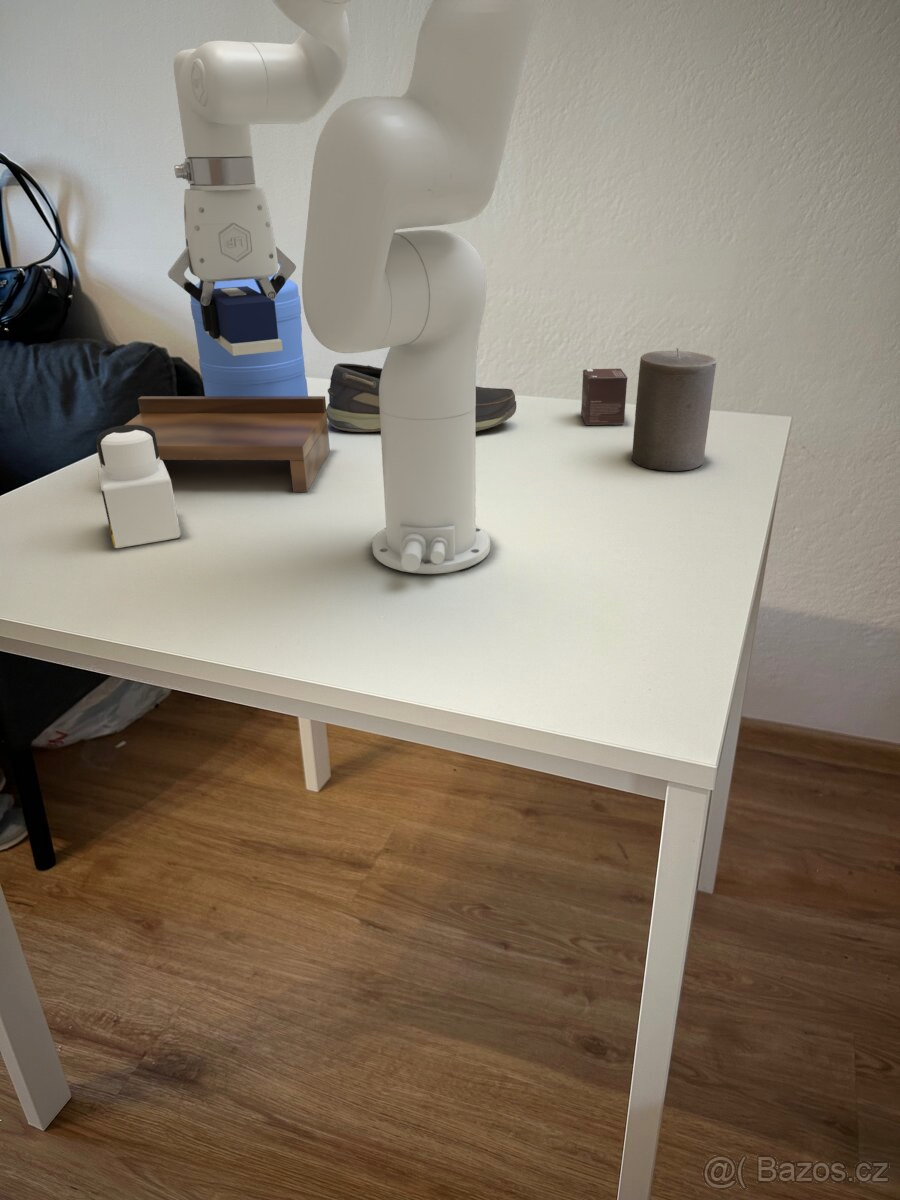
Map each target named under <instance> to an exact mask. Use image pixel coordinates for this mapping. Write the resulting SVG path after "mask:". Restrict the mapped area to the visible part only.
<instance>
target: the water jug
mask: <svg viewBox="0 0 900 1200" xmlns="http://www.w3.org/2000/svg"><path fill="white" fill-rule="evenodd" d="M276 274H277V272H276V273H275V274H274V275H276ZM274 275H273V276H274ZM273 276H270V277H268V278H269V280H271V279H272V278H273ZM194 285H195V286H196V287H198V286H199V282H197V283H195V284H194ZM244 286H248V287H249V288H251V289H253V290H255V291H257V292H259V293H261V292H260V290H259V288H258V286H257V284H256V282H255V280H254V279H246V280H233V281H218V282H215V286H214V289H218V288H231V287H244ZM299 293H300V292H299V286H298V284H297V283H296V281H294V280H291V279H290V278H289V279H287V280H286V282H285V284H284V286H283V287H282V288H281V290H280V291H279V292H278V293H277V295H276V298H275V299H274V300H273V301H275V310H276V320H277V329H278V339H280V340H281V341H282V349H283V350H282V351H274V352H265V353H255V354H246V355H237V356H233V355H232V354H231V353H229V352H228V351H227V350H226V349H225V348H224V347H222V346H221V345H220V344H219V343H218V342H216V341H215V340H214V339H213V338H212V337H211V336H209V335H208V334H207V333H206V332H205V330H204V327H203V320H202V313H201V306H200V302H198V301H197V300H196V299H195V298H194V297H192V296H191V295H190V294H189V296H190V310H191V316H192V320H193V323H194V330H195V336H196V343H197V344H196V345H197V351H198V355H199V356H198V357H199V358H198V362H199V364H198V365H199V370H200V372H199V373H200V374H201V376H200V377H201V378H202V384H203V390H204V391H203V392H204V396H309V393H308V392H309V391H308V383H307V382H308V380H307V378H306V373H305V372H306V369H305V358H304V357H305V356H304V349H303V340H302V339H303V337H302V336H303V334H302V333H303V327H302V317H301V316H302V315H301V314H302V306H301V304H302V303H301V298H300V297H301V296H300V295H299Z"/></svg>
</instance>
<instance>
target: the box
mask: <svg viewBox="0 0 900 1200" xmlns="http://www.w3.org/2000/svg"><path fill="white" fill-rule="evenodd" d="M627 385H628V376H627V375H626V374H625V372H624V371H623V370H622V368H586V369H583V370H582V385H581V386H582V387H581V409H580V416H581V417H582V419H583V422H584V424H585V425H587V426H599V425H600V426H601V425H603V426H604V425H606V426H607V425H616V426H617V425H624V424H625V416H626V415H625V413H626V400H627V387H628V386H627Z"/></svg>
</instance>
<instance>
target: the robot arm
mask: <svg viewBox="0 0 900 1200" xmlns="http://www.w3.org/2000/svg"><path fill="white" fill-rule="evenodd" d="M271 1H272V3H273V4H274V5H275V7H276V8H277V9H278V10H279V11H280V13H282V14H283V15H284V16H285V17H286V18H287V19H288V20H290V21H291V22H292V23H294V24H295V25H297V26H298V27H299V28H301V29H302V31H301V33H300V35H299V36H298V37H297V39H296V40H295V41H294V42H293V43H291V44H289V43H279V42H278V43H277V42H261V41H260V42H259V41H257V42H256V41H237V40H211V41H207V42H204V43H202V44H201V45H200V46H198V47H197V48H187V49H182V50H181V51H178V52H177V53H176V54H175V56H174V59H173V72H174V73H173V74H174V81H175V89H176V97H177V103H178V111H179V117H180V124H181V125H180V127H181V132H182V138H183V139H182V140H183V146H184V153H185V158H184V161H183V163H180V164H175V165H173V167H174V176H175V179H183V180H185V181H187V184H189V188H185V189H184V198H183V219H184V220H183V221H184V238H185V248H184V250H183V251H182V252H181V254H179V256H178V258H177V259H176V260H175V262H174V263H173V265H172V266H171V267H170V269H169V270H168V271H167V276H168V278H169V279H171V281H172V282H174V283H175V284H177V285H178V286H179V287H180V288H182V289H183V291H185V292H186V293H188V294H189V296H190V295H191V296H192V297H194V298H195V299H196V300H197V301H198V302H200V306H201V313H202V320H203V327H204V330H205V331H206V332H207V331H209V335H210V336H211V337H212V338H213V339H218V338H220V334H219V326H218V319H217V311H216V306H215V305H213V302H212V299H211V298H212V294H213V290H214V286H215V282H218V281H233V280H246V279H254V280H255V282H256V284H257V286H258V288H259V290H260V292H261V293H260V294H262V295H264V296H266V297H268V298H270V299H271V300H274V299H275V298H276V295H277V293H278V292H279V291H280V290H281V288H282V287H283V286H284V284H285V282H286V280H287V279H289V280H290V277H291V276H292V275H293V274H294V272H295V271H296V269H297V265H296V264H295V263H294V262H293V261H292V260H291V258H289V257H288V256H287V255H286V254H285V253H284V252H283V251H281V249H280V248H279V247H277V245H276V239H275V234H274V228H273V223H272V217H271V213H270V208H269V204H268V200H267V196H266V192H265V189H264V187H260V186H257V184H256V173H255V165H254V157H253V155H254V154H253V146H252V137H251V127H250V126H253V125H300V124H304V123H307V122H309V121H311V120H312V119H314V118H315V117H316V116H318V115H319V114H320V113H321V112H322V111H323V110H324V108H325V107H326V106H327V104H329V102H330V100H331V99H332V98H333V96H334V95H335V93H336V92H337V91H338V90H339V88H340V86H341V84H342V83H343V81H344V79H345V76H346V73H347V70H348V66H349V65H348V64H349V58H350V49H351V48H350V47H351V31H350V24H349V20H348V14H347V12H346V9H347V7H349V4H350V3H351V1H352V0H271ZM544 3H545V0H432V2H431V3H430V4H429V7H428V9H427V11H426V13H425V15H424V17H423V20H422V23H421V24H420V25H421V26H420V28H419V32H418V35H417V40H416V48H415V56H414V63H413V65H412V66H413V67H412V72H411V76H410V81H409V84H408V86H407V90H406V91H405V92H404V93H403V95H400V96H382V95H381V96H377V95H375V96H362V97H357V98H354V99H351V100H348V101H346V102H344V103H342V104H341V105H340V106H338V107H337V108H336V109H335V110H334V111H333V112H332V113H331V114H330V116H329V117H328V118H327V121H326V122H325V124H324V125H323V128H322V130H321V132H320V134H319V137H318V139H317V140H318V141H317V143H316V147H315V151H314V156H313V164H312V171H311V181H310V191H309V201H308V211H307V222H306V232H305V240H304V241H305V243H304V252H303V261H302V274H301V275H302V276H301V277H302V278H301V296H302V297H301V298H302V305H303V312H304V316H305V319H306V323H307V325H308V327H309V329H310V332H311V333H312V335H313V336H314V338H315V339H316V340H317V341H318V343H320V344H321V345H322V346H323V347H324V348H326V349H328V350H330V351H333V352H336V353H339V354H359V353H366V352H371V351H377V350H380V349H381V350H382V349H386V348H389V349H388V351H387V354H386V357H385V360H384V362H383V366H382V372H381V377H380V384H379V406H380V425H381V431H380V440H381V441H380V442H381V443H380V444H381V455H382V456H381V459H382V477H383V496H384V514H385V527H384V528H382V529H381V530H380V531H378V532H377V533H376V534H375V536H374V537H373V539H372V541H371V544H372V554H373V556H374V557H375V559H376V560H377V561H378V562H379V563H381V564H383V565H384V566H386V567H388V568H391V569H393V570H397V571H400V572H404V573H405V572H406V573H411V574H419V575H420V574H421V575H422V574H423V575H437V574H444V573H445V574H446V573H453V572H457V571H462V570H464V569H468V568H470V567H472V566H475V565H477V564H478V563H480V562H482V561H483V560H485V558H486V557H487V556H488V555H489V553H490V551H491V538H490V535H489V534H488V533H487V531H486V530H485V529H483V528H482V527H481V526H478V525H477V524H476V523H477V521H476V517H477V516H476V511H477V510H476V509H477V507H476V503H477V502H476V501H477V499H476V490H477V488H476V487H477V486H476V483H477V482H476V481H477V479H476V476H477V475H476V474H477V473H476V470H477V469H476V467H477V466H476V465H477V464H476V461H477V460H476V456H477V455H476V453H477V452H476V450H477V449H476V432H475V406H476V386H477V364H478V363H477V360H478V348H479V341H480V334H481V329H482V324H483V318H484V313H485V307H486V301H487V291H488V290H487V288H488V287H487V274H486V269H485V266H484V263H483V260H482V258H481V256H480V254H479V252H478V251H477V249H476V248H475V247H474V246H473V245H472V243H470V241H468V240H467V239H466V238H464V237H463V236H461V235H459V234H457V233H454V232H451V231H447V230H440V229H419V230H418V229H417V230H416V229H415V230H407V231H396V230H405V229H412V228H427V227H436V226H445V225H451V224H457V223H462V222H467V221H470V220H472V219H474V218H476V217H477V216H479V215H480V214H481V213H482V212H483V211H484V210H485V209H486V208H487V206H488V205H489V203H490V201H491V198H492V196H493V194H494V191H495V188H496V184H497V180H498V176H499V172H500V168H501V165H502V161H503V157H504V153H505V148H506V144H507V139H508V135H509V131H510V126H511V122H512V120H513V119H512V118H513V114H514V110H515V107H516V101H517V98H518V95H519V89H520V84H521V79H522V74H523V69H524V66H525V62H526V58H527V54H528V50H529V47H530V43H531V40H532V37H533V34H534V31H535V27H536V25H537V22H538V19H539V17H540V14H541V12H542V9H543V6H544ZM278 268H279V269H278ZM187 269H189V271H190V273H191V274H192V275H193V276H195V277H196V278H198V279H199V281H198V283H199V286H198V287H196V286H195V284H194V283H193V282H192V281H190V279H188V278H187V277H186V276H185V272H186V271H187ZM275 273H277V274H276V275H274V274H275ZM273 275H274V276H273ZM270 276H273V278H272V279H271V280H269V278H268V277H270Z"/></svg>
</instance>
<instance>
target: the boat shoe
mask: <svg viewBox="0 0 900 1200" xmlns="http://www.w3.org/2000/svg"><path fill="white" fill-rule="evenodd" d="M382 369H383V367H382V368H381V367H376V366H371V365H370V364H369V365H363V364H357V363H345V362H341V363H340V362H339V363H337V364H335V365H334V366H333V369H332V372H331V376H330V378H329V379H330V383H329V387H328V388H327V393H328V401H329V403H328V404H327V405H326V413H327V422H328V423H329V424H330V425H331V426H332V427H333V428H334V429H337V430H339V431H345V432H352V433H371V432H372V433H373V432H381V425H380V406H379V384H380V377H381V372H382ZM516 411H517V401H516V394H515V392H514V390H513V389H512V388H496V387H483V386H482V387H481V386H477V385H476V406H475V433H476V432H480V431H483V430H486V429H490V428H493V427H496V426H498V425H501V424H502V423H504V422H506V421H508V420H510V419H511V418H512V417H513V416H514V415H515V414H516Z"/></svg>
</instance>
